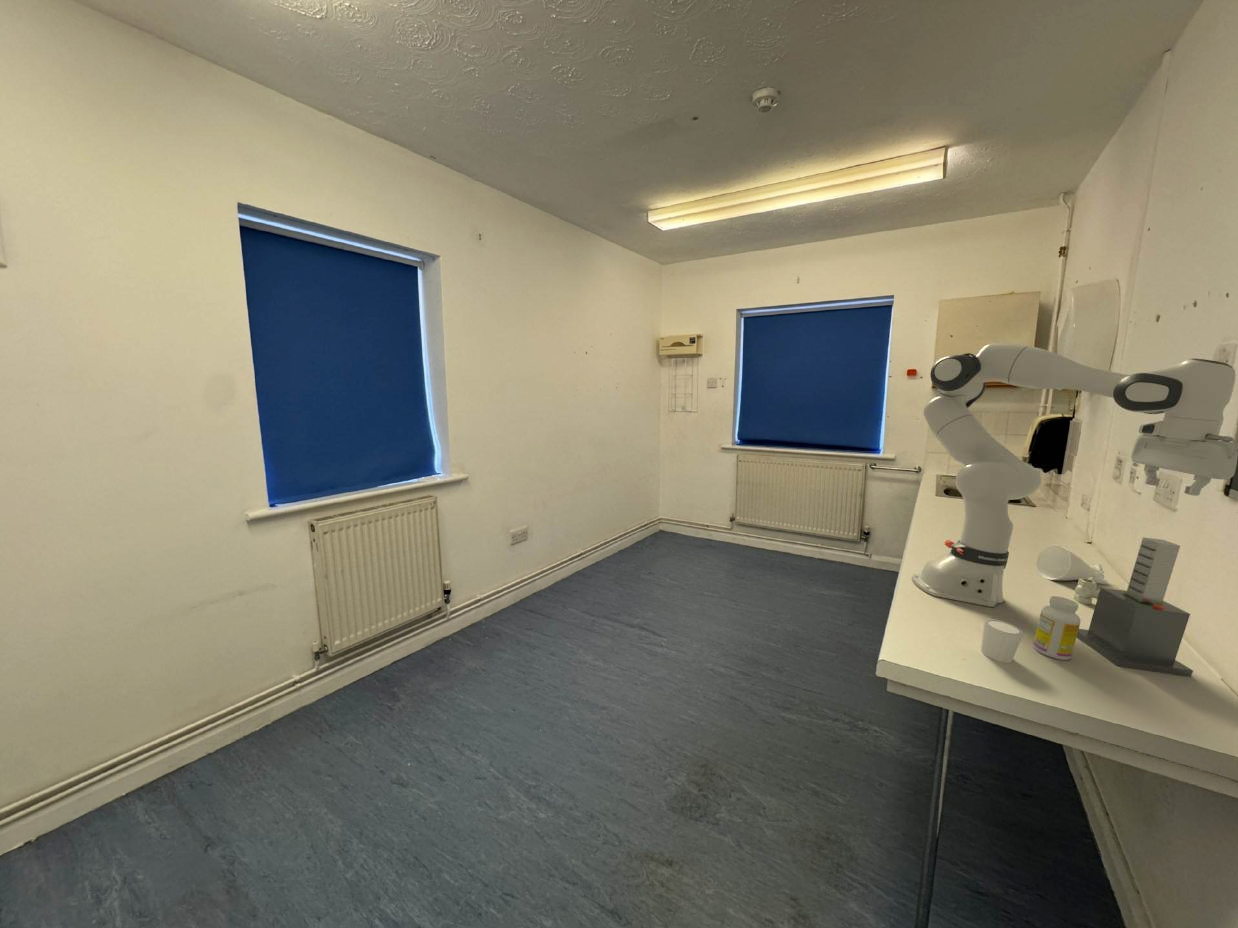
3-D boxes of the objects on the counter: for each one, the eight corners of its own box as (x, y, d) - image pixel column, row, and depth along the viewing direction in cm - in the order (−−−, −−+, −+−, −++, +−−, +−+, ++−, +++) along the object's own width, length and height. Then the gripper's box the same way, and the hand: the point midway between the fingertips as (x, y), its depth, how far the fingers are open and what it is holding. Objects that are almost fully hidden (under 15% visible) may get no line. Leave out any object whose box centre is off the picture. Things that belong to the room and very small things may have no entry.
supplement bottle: (1071, 654, 110) (1086, 602, 108) (1069, 664, 106) (1084, 611, 103) (1033, 641, 115) (1047, 591, 113) (1029, 650, 111) (1043, 599, 108)
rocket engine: (1115, 554, 155) (1062, 538, 154) (1131, 587, 147) (1076, 570, 147) (1080, 569, 164) (1031, 554, 163) (1094, 600, 157) (1042, 585, 156)
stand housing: (1117, 666, 107) (1135, 607, 104) (1070, 633, 120) (1085, 580, 117) (1191, 676, 105) (1211, 617, 102) (1134, 641, 118) (1151, 588, 115)
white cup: (978, 642, 112) (985, 615, 111) (1016, 655, 108) (1023, 626, 107) (976, 654, 107) (983, 626, 106) (1015, 668, 103) (1023, 638, 102)
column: (1132, 626, 109) (1157, 543, 105) (1116, 617, 113) (1140, 537, 109) (1154, 629, 109) (1181, 546, 105) (1138, 620, 113) (1163, 539, 109)
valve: (1072, 602, 139) (1132, 619, 131) (1078, 581, 137) (1139, 596, 130) (1072, 595, 144) (1129, 611, 136) (1077, 575, 142) (1136, 589, 135)
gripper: (1257, 439, 100) (1235, 503, 103) (1161, 427, 120) (1144, 481, 123) (1223, 436, 101) (1202, 500, 104) (1133, 425, 121) (1117, 478, 124)
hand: (1170, 489), depth 113 cm, fingers open, 8 cm apart
